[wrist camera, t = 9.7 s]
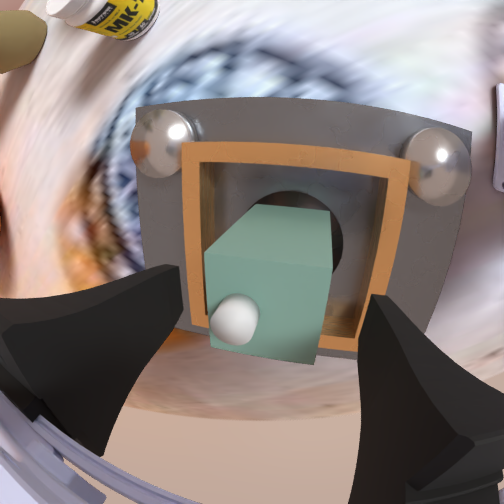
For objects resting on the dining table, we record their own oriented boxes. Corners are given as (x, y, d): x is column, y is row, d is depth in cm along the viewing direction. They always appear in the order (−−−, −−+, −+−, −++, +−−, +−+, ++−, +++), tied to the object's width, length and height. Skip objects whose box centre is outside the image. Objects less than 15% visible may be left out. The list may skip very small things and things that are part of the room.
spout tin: (329, 211, 14) (333, 284, 7) (321, 278, 16) (311, 384, 9) (255, 203, 15) (190, 265, 8) (254, 270, 17) (201, 363, 9)
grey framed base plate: (450, 131, 13) (489, 131, 9) (403, 337, 19) (415, 382, 15) (160, 110, 17) (115, 106, 13) (171, 303, 24) (142, 336, 19)
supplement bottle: (137, 49, 16) (57, 28, 8) (107, 33, 15) (33, 16, 8) (173, 2, 14) (103, -39, 6) (138, -10, 13) (71, -41, 6)
